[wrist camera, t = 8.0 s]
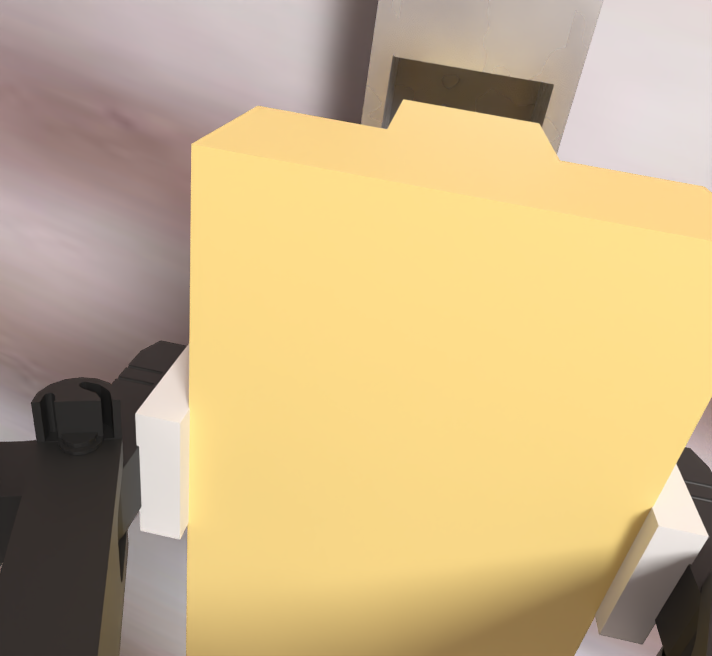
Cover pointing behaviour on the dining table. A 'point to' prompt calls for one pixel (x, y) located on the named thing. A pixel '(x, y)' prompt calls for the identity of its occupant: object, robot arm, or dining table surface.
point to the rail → (480, 58)
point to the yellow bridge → (428, 382)
